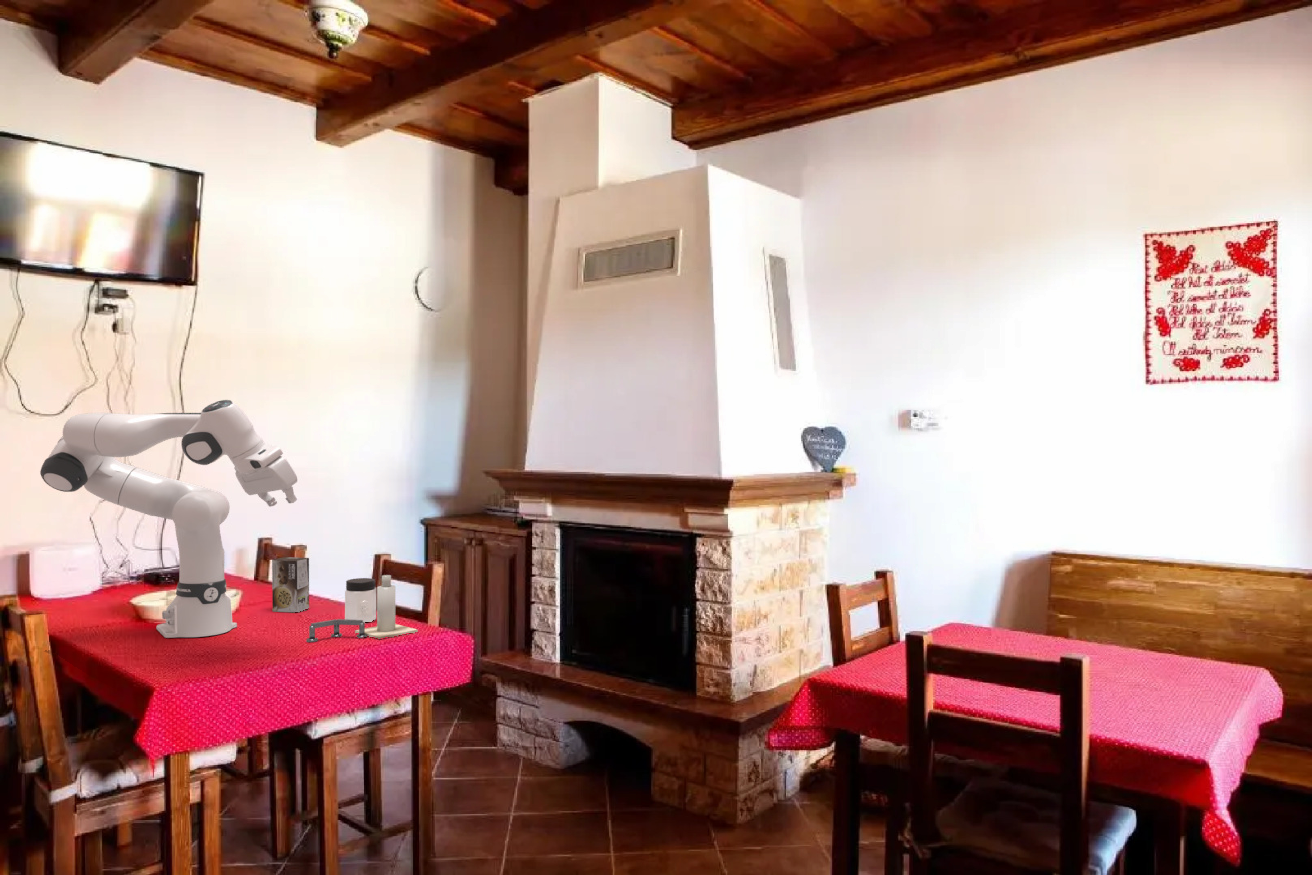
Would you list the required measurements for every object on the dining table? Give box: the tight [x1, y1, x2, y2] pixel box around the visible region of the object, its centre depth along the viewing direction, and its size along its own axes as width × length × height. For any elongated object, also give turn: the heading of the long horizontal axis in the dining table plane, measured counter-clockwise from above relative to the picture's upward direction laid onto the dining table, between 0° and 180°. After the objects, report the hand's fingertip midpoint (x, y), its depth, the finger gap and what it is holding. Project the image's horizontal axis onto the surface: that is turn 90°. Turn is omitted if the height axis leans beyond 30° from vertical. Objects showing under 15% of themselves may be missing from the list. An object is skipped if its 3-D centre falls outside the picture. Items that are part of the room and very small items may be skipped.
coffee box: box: [271, 556, 310, 613], centre depth 275 cm, size 9×6×16 cm
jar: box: [344, 577, 377, 623], centre depth 260 cm, size 9×8×12 cm
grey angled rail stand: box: [306, 618, 368, 643], centre depth 237 cm, size 9×14×5 cm, turn 139°
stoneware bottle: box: [376, 574, 396, 632], centre depth 245 cm, size 5×5×15 cm
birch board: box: [354, 623, 419, 639], centre depth 245 cm, size 12×12×1 cm
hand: (283, 503), depth 227 cm, fingers open, 8 cm apart
